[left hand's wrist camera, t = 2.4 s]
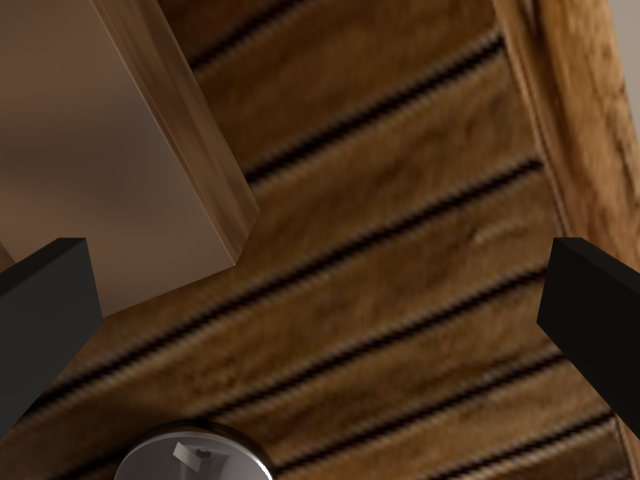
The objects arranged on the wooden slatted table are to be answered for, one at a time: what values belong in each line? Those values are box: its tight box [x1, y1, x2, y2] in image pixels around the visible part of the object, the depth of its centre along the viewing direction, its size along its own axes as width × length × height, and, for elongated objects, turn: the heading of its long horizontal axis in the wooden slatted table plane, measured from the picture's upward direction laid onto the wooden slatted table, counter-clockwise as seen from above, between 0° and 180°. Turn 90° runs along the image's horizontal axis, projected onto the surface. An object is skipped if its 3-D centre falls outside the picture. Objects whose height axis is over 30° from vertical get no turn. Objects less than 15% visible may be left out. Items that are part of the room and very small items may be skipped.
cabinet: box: [0, 0, 260, 318], centre depth 25 cm, size 19×11×10 cm, turn 23°
